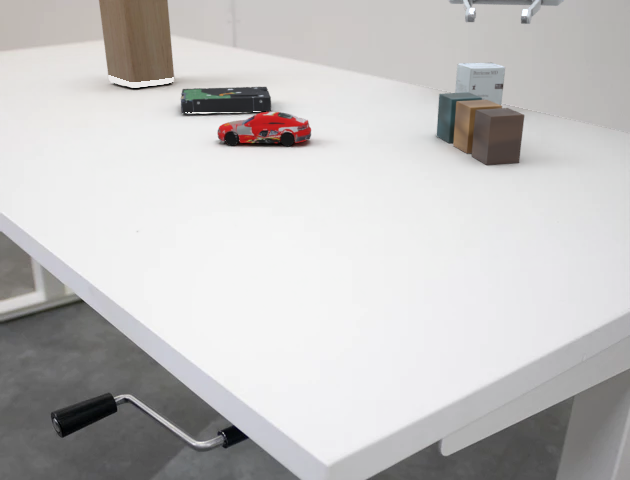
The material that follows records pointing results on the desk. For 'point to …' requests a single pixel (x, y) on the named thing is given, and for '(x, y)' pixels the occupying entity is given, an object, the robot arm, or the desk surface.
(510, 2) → the robot arm
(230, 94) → the disk drive
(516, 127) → the block row
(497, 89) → the white cardboard box
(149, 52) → the block
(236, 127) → the race car
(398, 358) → the desk surface
